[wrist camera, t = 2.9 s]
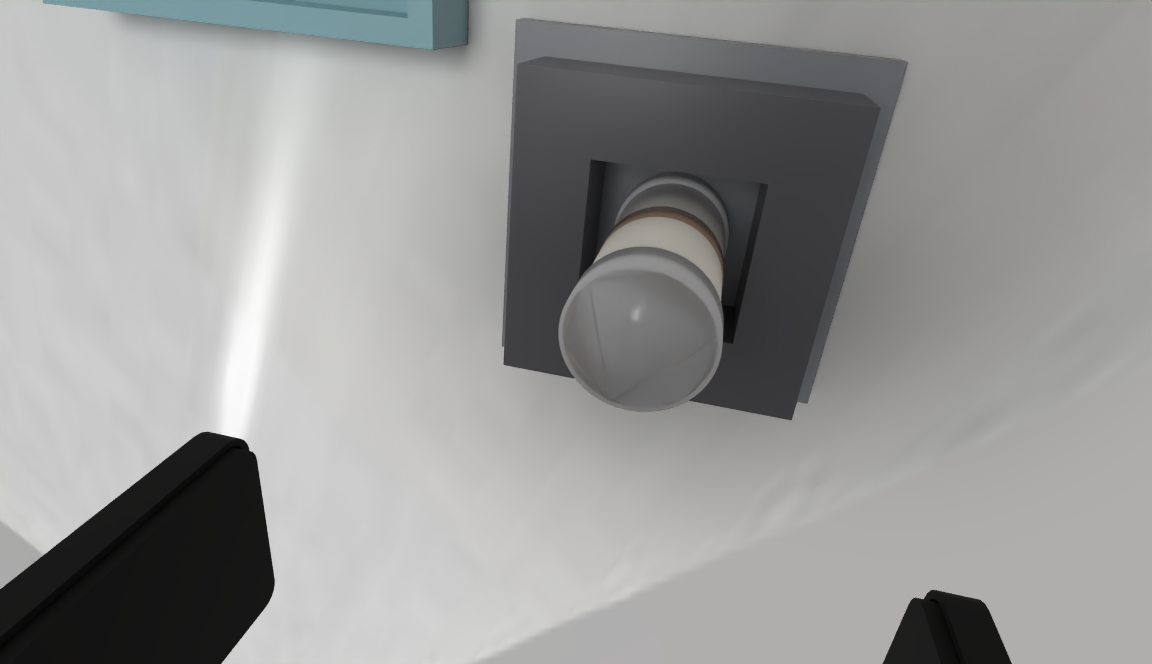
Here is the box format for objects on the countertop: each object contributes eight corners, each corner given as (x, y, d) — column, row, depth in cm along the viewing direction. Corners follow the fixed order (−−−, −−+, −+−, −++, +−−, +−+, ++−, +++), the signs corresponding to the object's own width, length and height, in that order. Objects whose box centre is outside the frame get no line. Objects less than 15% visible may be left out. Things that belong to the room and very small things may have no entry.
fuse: (739, 180, 22) (737, 279, 14) (717, 285, 24) (706, 425, 16) (626, 164, 23) (565, 251, 15) (613, 268, 25) (553, 395, 17)
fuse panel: (900, 59, 21) (933, 71, 17) (805, 390, 26) (814, 450, 23) (525, 18, 22) (484, 21, 19) (509, 335, 28) (476, 383, 24)
